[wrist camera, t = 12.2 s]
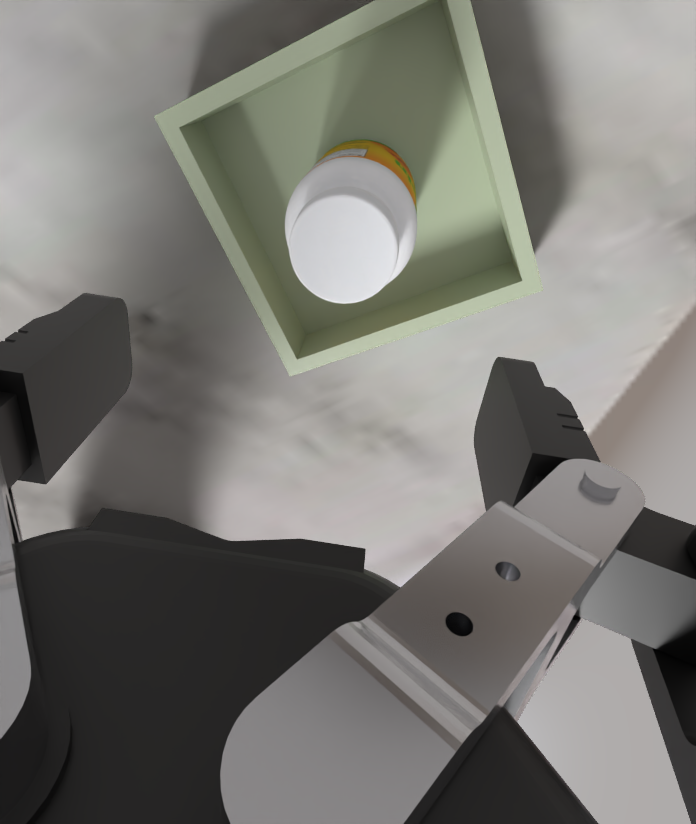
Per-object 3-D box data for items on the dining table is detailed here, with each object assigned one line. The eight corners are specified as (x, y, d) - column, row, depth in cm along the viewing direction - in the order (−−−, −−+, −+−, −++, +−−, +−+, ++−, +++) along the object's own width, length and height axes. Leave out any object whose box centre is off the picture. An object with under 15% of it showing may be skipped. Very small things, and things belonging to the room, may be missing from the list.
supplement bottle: (426, 234, 29) (433, 304, 21) (327, 260, 30) (297, 336, 22) (402, 121, 26) (398, 150, 18) (295, 155, 27) (246, 197, 19)
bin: (527, 264, 30) (543, 290, 27) (301, 345, 34) (289, 376, 30) (451, -29, 24) (459, -45, 20) (184, 109, 28) (153, 116, 24)
